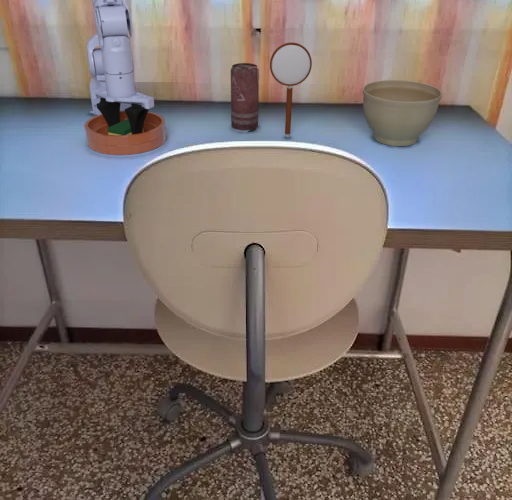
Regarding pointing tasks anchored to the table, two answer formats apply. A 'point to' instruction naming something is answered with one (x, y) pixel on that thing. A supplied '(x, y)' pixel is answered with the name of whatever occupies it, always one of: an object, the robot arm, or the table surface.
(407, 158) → the table surface
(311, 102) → the table surface
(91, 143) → the bowl
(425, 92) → the planter bowl
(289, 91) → the magnifying glass
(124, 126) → the sponge
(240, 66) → the can
